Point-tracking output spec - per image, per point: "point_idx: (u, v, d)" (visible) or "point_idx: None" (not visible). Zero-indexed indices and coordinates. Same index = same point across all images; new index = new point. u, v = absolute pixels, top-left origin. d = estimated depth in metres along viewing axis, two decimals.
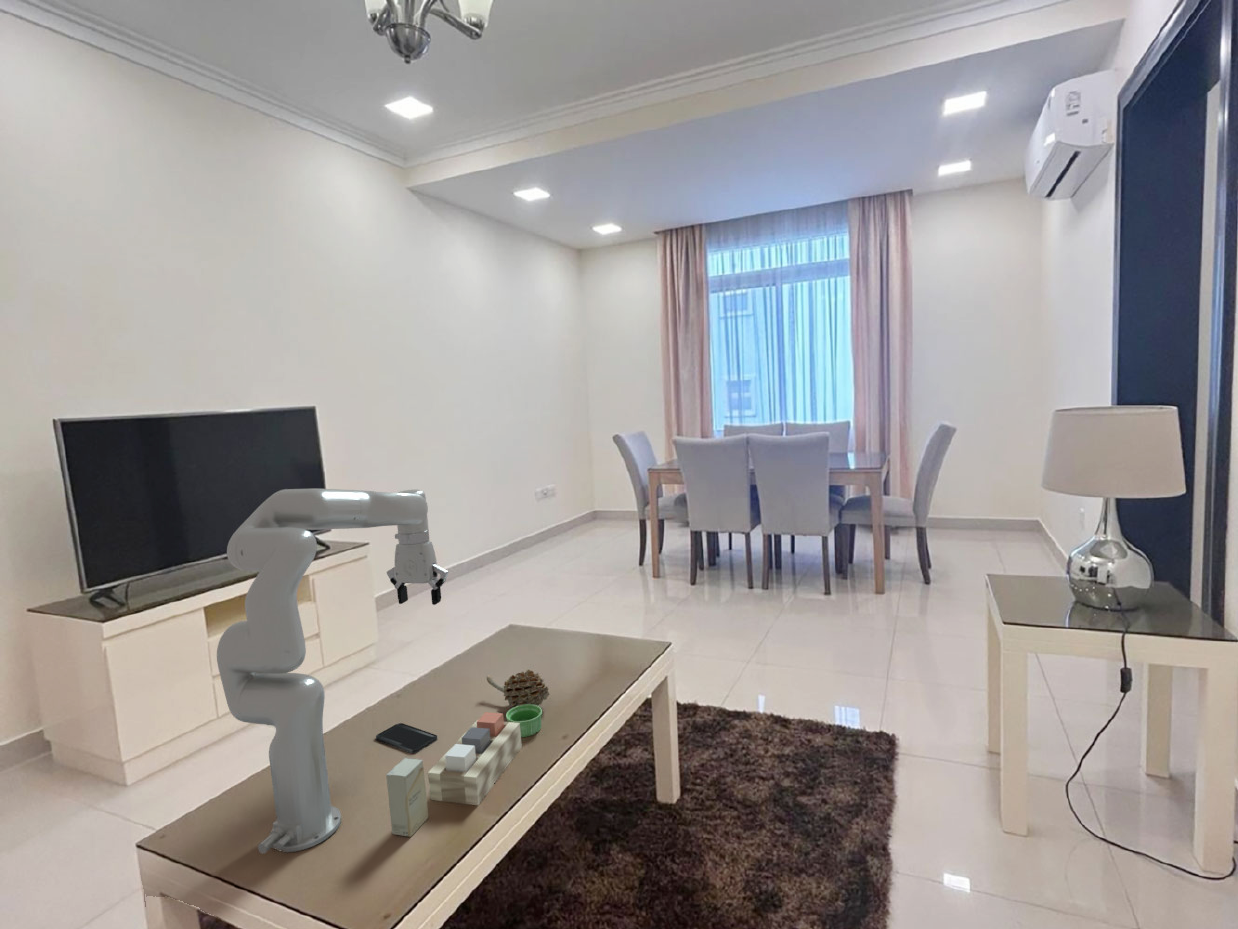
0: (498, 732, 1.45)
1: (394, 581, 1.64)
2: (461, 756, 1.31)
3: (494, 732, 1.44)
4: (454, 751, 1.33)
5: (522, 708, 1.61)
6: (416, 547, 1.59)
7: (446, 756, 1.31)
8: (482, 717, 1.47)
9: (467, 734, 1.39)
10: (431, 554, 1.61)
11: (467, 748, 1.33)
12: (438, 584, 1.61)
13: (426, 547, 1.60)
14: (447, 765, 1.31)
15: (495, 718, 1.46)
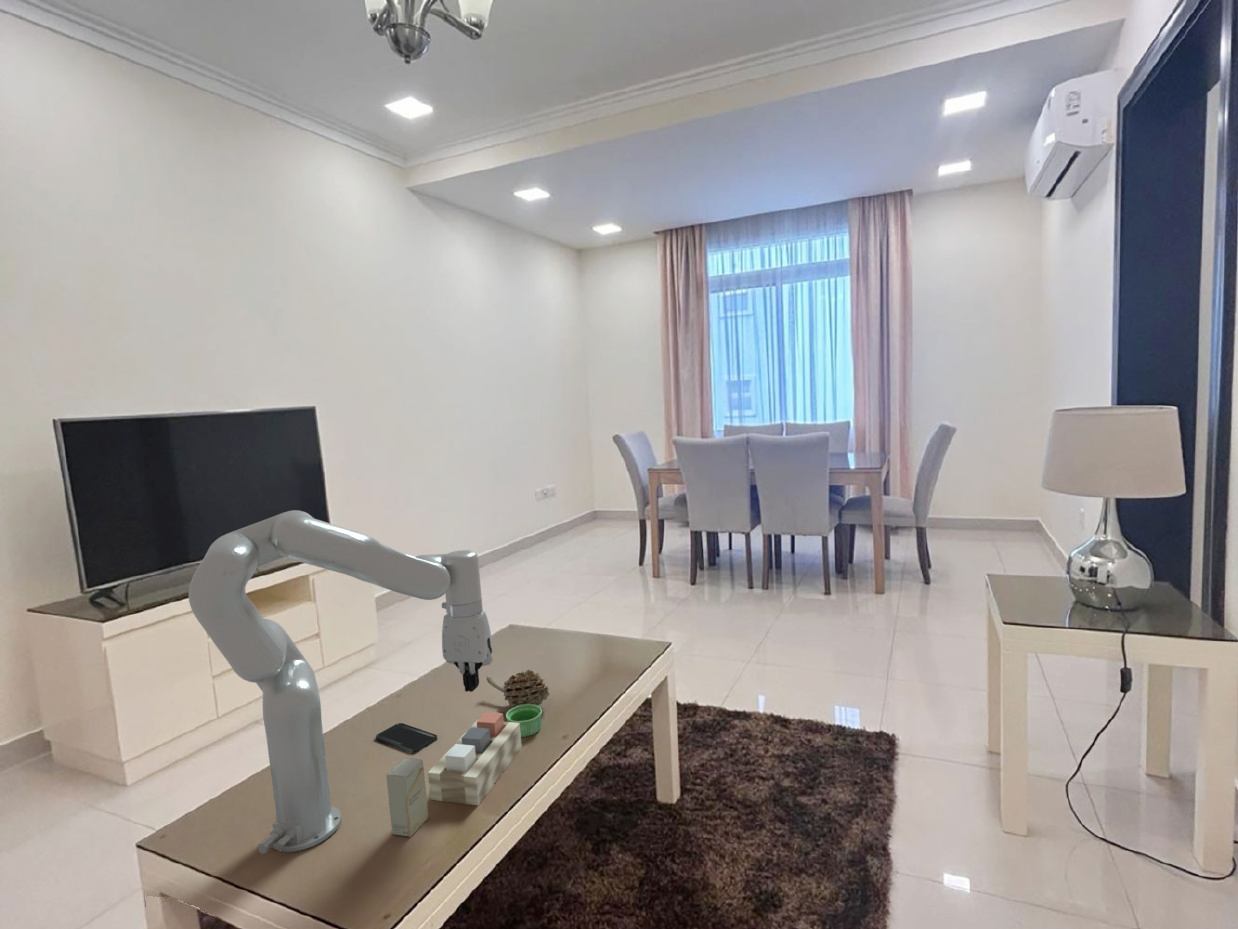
0: (498, 732, 1.45)
1: None
2: (461, 756, 1.31)
3: (494, 732, 1.44)
4: (454, 751, 1.33)
5: (522, 708, 1.61)
6: (468, 620, 1.34)
7: (446, 756, 1.31)
8: (482, 717, 1.47)
9: (467, 734, 1.39)
10: (485, 628, 1.36)
11: (467, 748, 1.33)
12: (476, 668, 1.37)
13: (480, 620, 1.35)
14: (447, 765, 1.31)
15: (495, 718, 1.46)
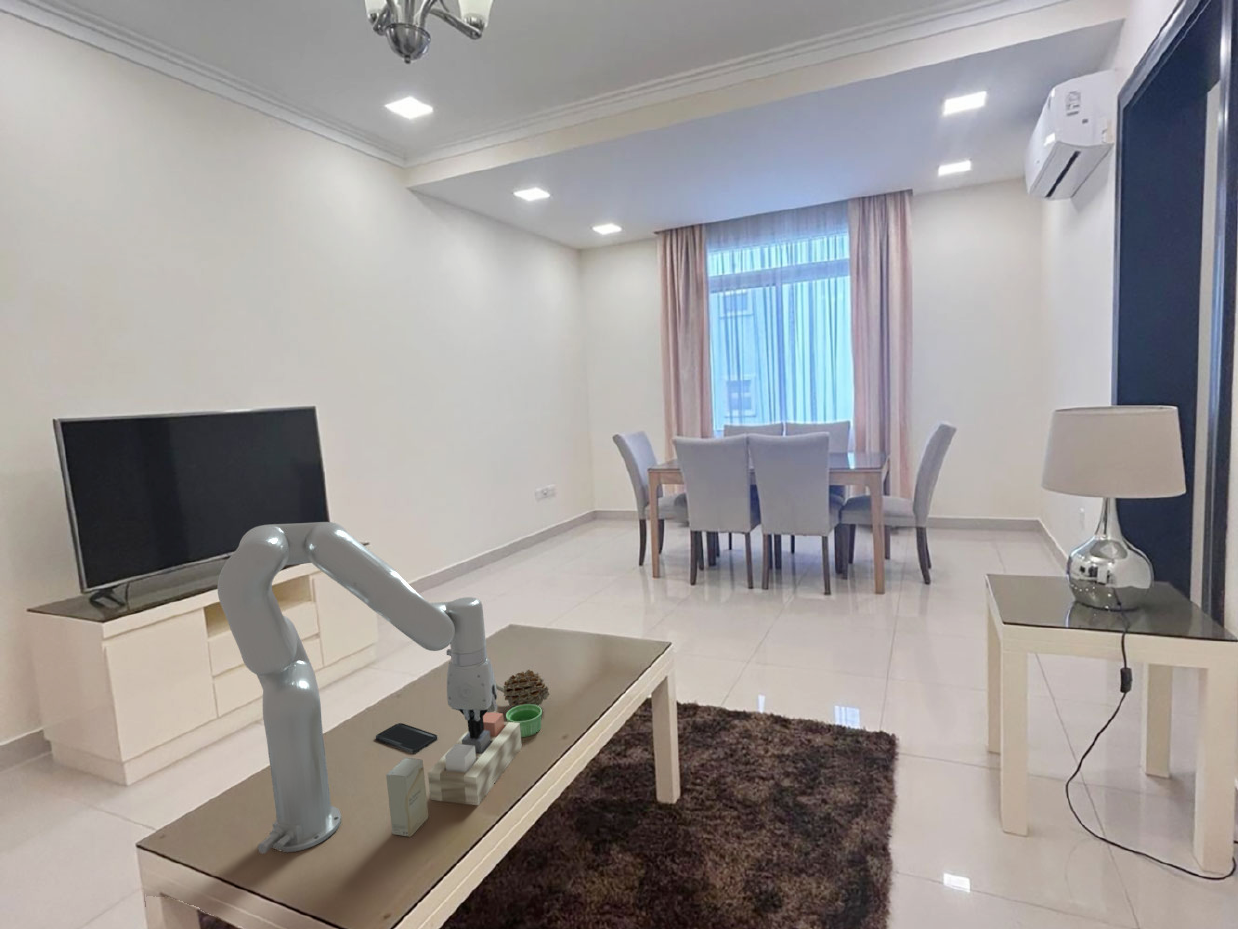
0: (498, 732, 1.45)
1: None
2: (461, 756, 1.31)
3: (494, 732, 1.44)
4: (454, 751, 1.33)
5: (522, 708, 1.61)
6: (473, 668, 1.35)
7: (446, 756, 1.31)
8: None
9: (467, 735, 1.40)
10: (490, 675, 1.37)
11: (467, 748, 1.33)
12: (481, 714, 1.38)
13: (485, 667, 1.35)
14: (447, 765, 1.31)
15: (495, 718, 1.46)
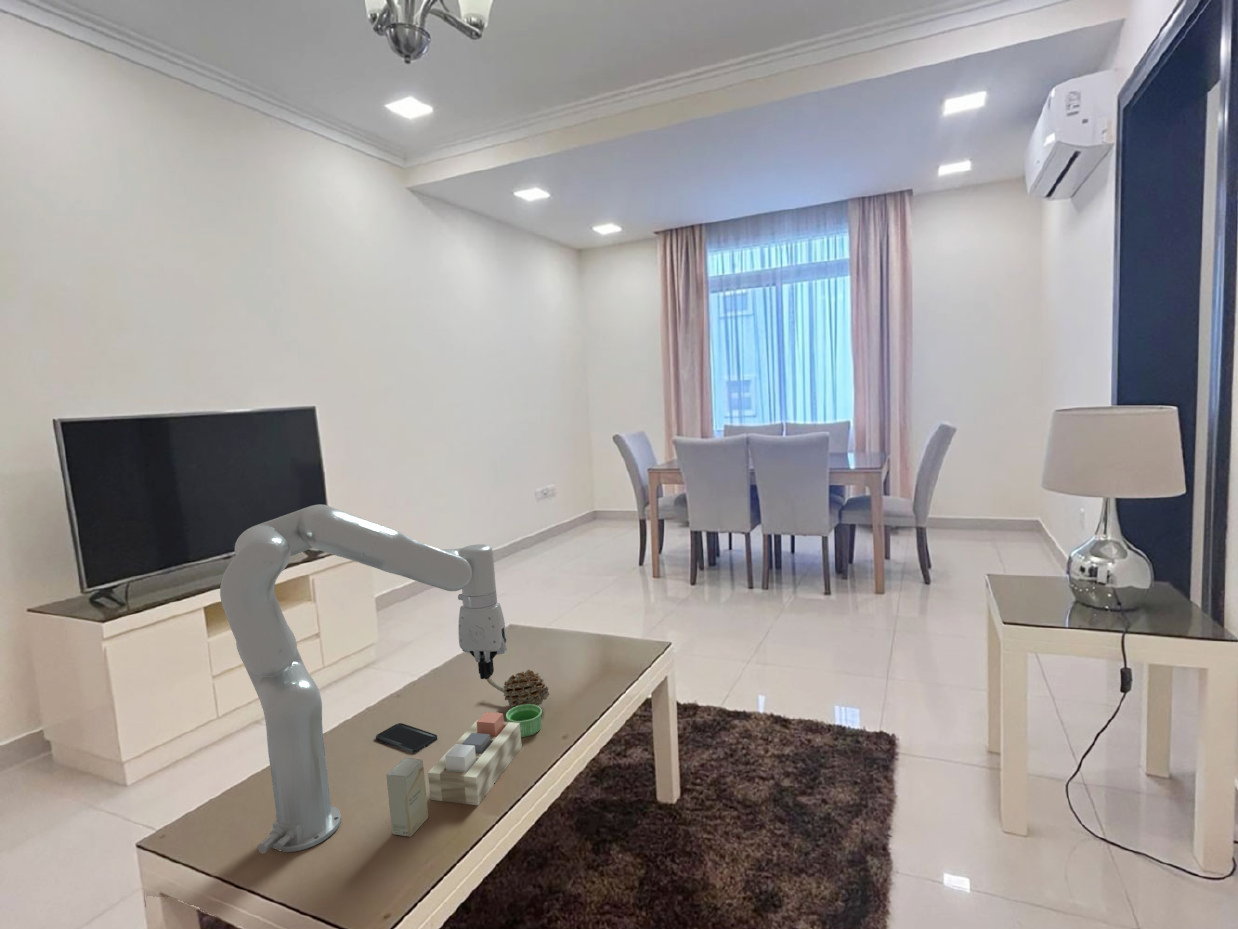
0: (498, 732, 1.45)
1: None
2: (461, 756, 1.31)
3: (494, 732, 1.44)
4: (454, 751, 1.33)
5: (522, 708, 1.61)
6: (484, 611, 1.41)
7: (446, 756, 1.31)
8: (482, 717, 1.47)
9: (468, 739, 1.40)
10: (500, 618, 1.42)
11: (467, 748, 1.33)
12: (491, 656, 1.44)
13: (495, 610, 1.41)
14: (447, 765, 1.31)
15: (495, 718, 1.46)
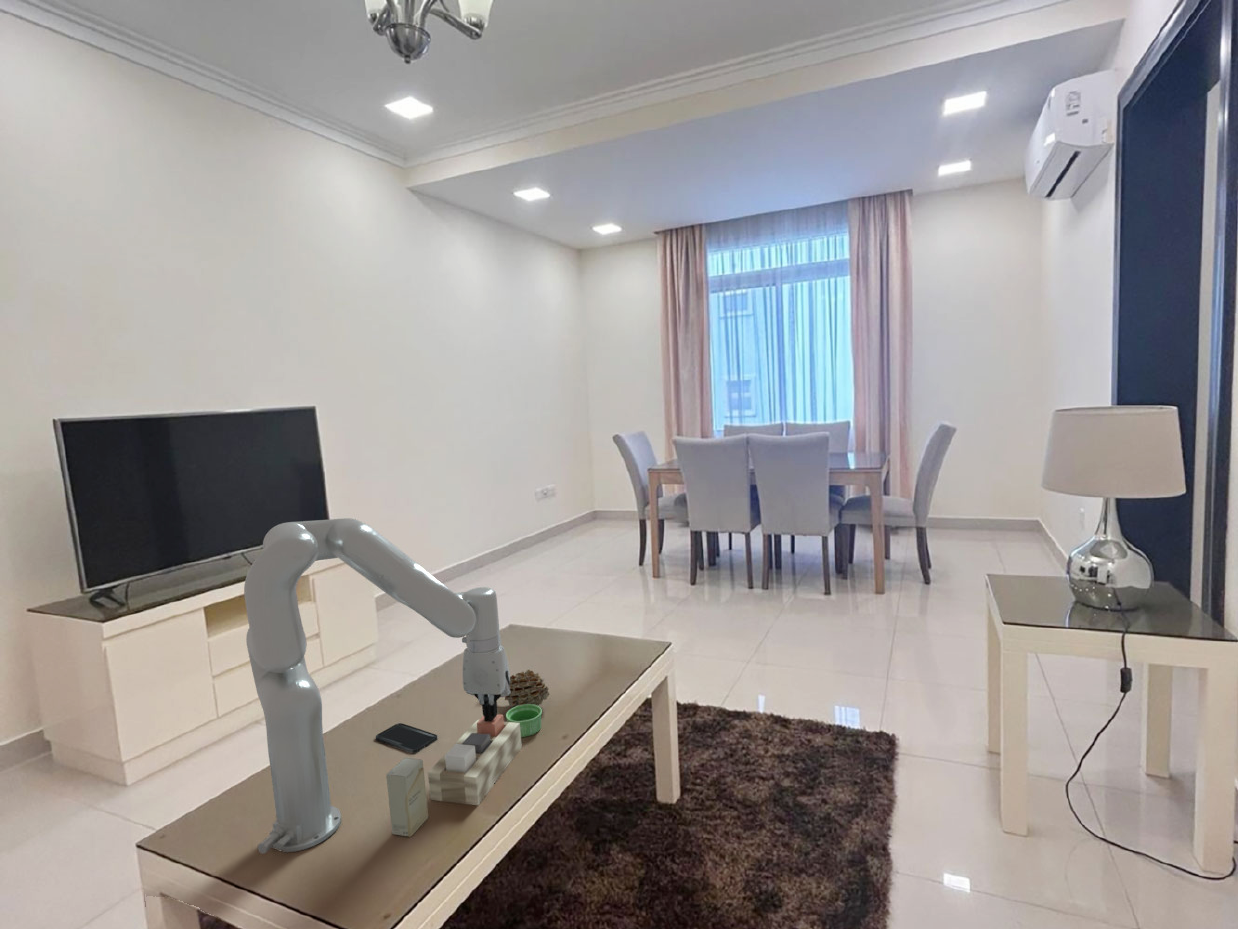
0: (498, 733, 1.45)
1: None
2: (461, 756, 1.31)
3: (494, 733, 1.44)
4: (454, 751, 1.33)
5: (522, 708, 1.61)
6: (488, 655, 1.42)
7: (446, 756, 1.31)
8: (482, 718, 1.47)
9: (468, 739, 1.40)
10: (504, 661, 1.43)
11: (467, 748, 1.33)
12: (495, 699, 1.45)
13: (499, 654, 1.42)
14: (447, 765, 1.31)
15: (495, 719, 1.46)
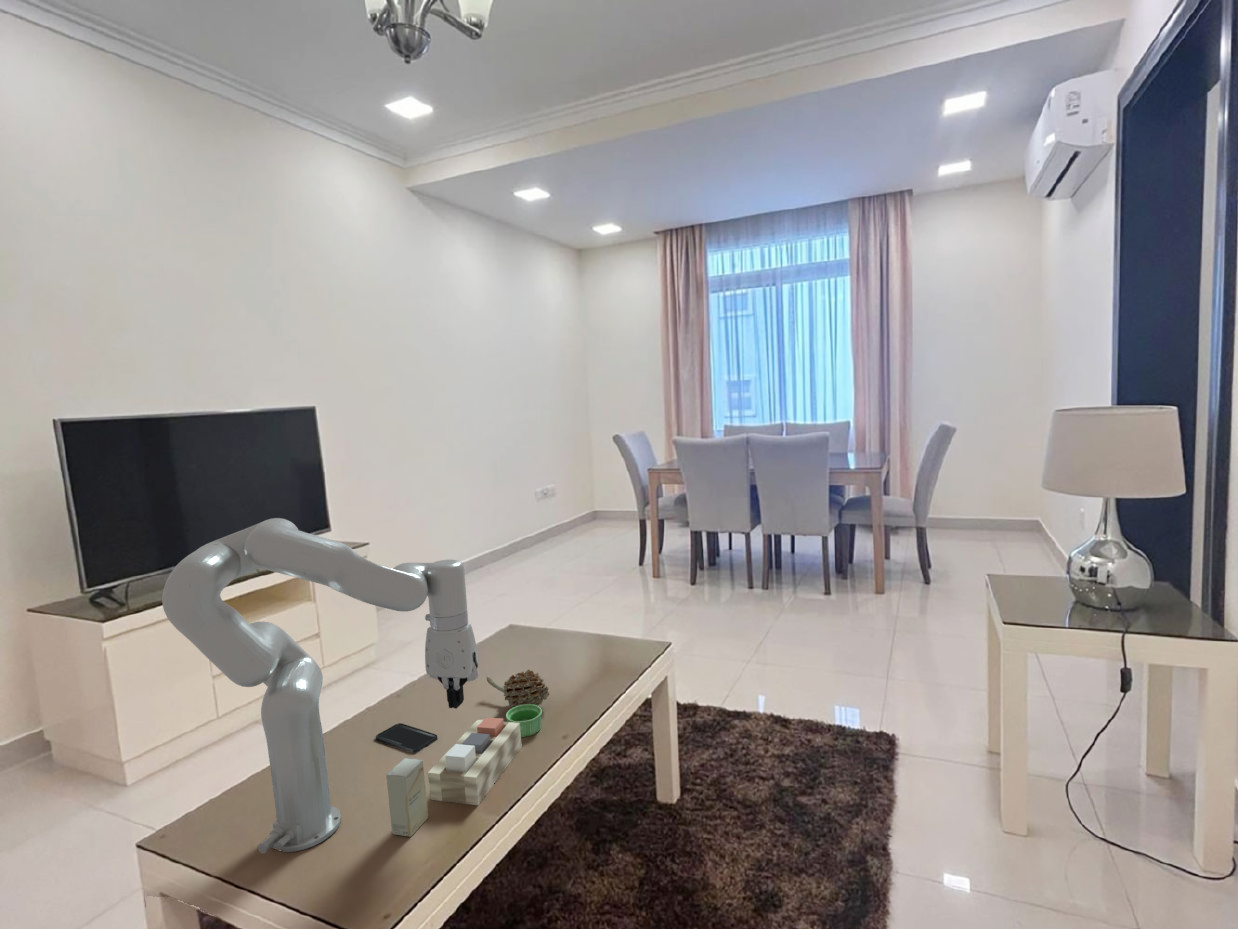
0: None
1: None
2: (461, 756, 1.31)
3: None
4: (454, 751, 1.33)
5: (522, 707, 1.61)
6: (453, 634, 1.28)
7: (446, 756, 1.31)
8: (482, 722, 1.47)
9: (468, 739, 1.40)
10: (471, 641, 1.29)
11: (467, 748, 1.33)
12: (461, 683, 1.30)
13: (466, 633, 1.28)
14: (447, 765, 1.31)
15: (496, 723, 1.46)
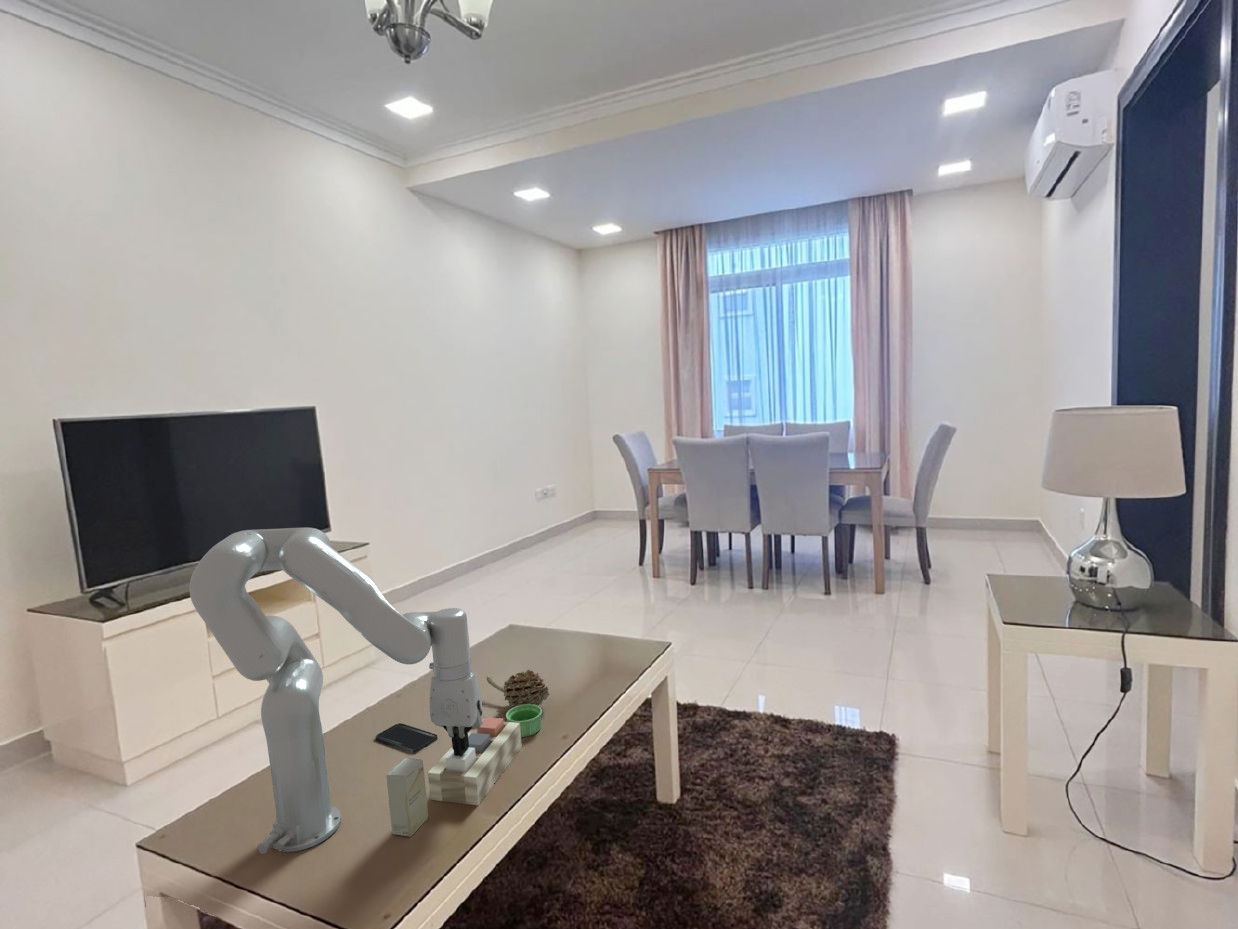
0: None
1: None
2: (461, 758, 1.31)
3: None
4: None
5: (522, 707, 1.61)
6: (457, 683, 1.28)
7: (446, 758, 1.31)
8: None
9: (468, 739, 1.40)
10: (475, 690, 1.30)
11: (467, 750, 1.33)
12: (465, 731, 1.31)
13: (469, 682, 1.29)
14: (447, 767, 1.31)
15: (496, 723, 1.46)
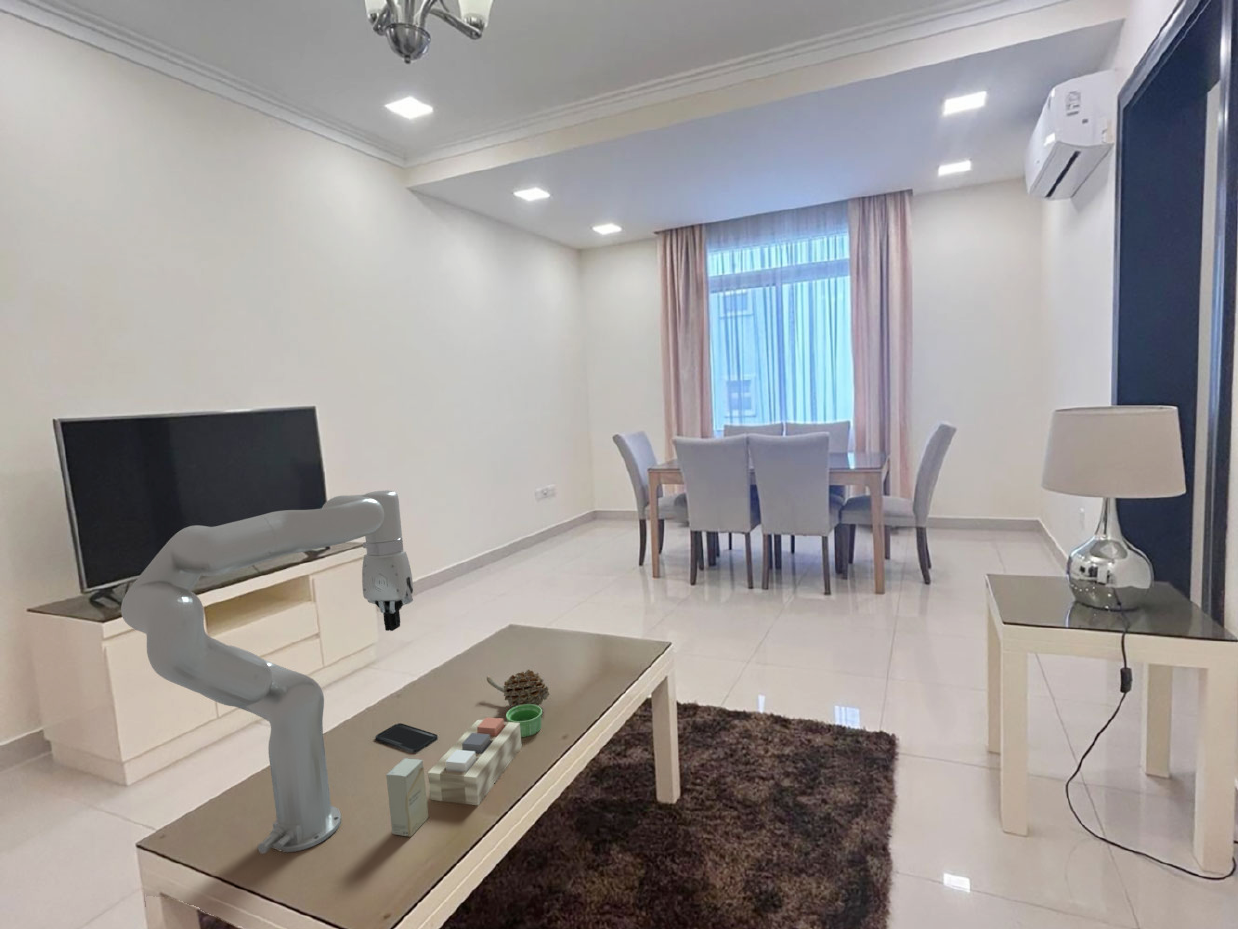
0: None
1: None
2: (461, 762, 1.31)
3: None
4: (455, 756, 1.33)
5: (523, 707, 1.61)
6: (387, 558, 1.35)
7: (447, 762, 1.31)
8: (482, 722, 1.47)
9: (468, 739, 1.40)
10: (405, 566, 1.37)
11: (468, 754, 1.34)
12: (396, 607, 1.38)
13: (399, 558, 1.35)
14: None
15: (496, 723, 1.46)
